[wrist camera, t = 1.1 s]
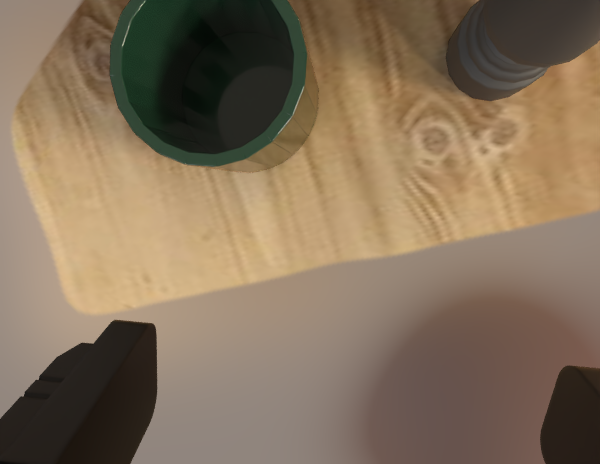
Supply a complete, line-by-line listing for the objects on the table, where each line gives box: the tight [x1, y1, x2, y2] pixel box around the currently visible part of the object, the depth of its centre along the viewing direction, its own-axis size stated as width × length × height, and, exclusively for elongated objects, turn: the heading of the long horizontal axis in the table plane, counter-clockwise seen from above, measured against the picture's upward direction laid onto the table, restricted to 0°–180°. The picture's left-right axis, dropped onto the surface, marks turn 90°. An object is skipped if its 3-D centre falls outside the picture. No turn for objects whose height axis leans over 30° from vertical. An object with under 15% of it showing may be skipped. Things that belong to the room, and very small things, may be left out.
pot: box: [110, 0, 319, 173], centre depth 30 cm, size 11×11×10 cm
